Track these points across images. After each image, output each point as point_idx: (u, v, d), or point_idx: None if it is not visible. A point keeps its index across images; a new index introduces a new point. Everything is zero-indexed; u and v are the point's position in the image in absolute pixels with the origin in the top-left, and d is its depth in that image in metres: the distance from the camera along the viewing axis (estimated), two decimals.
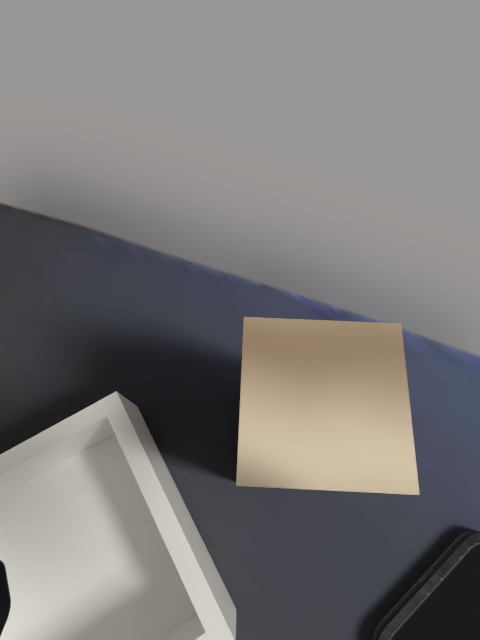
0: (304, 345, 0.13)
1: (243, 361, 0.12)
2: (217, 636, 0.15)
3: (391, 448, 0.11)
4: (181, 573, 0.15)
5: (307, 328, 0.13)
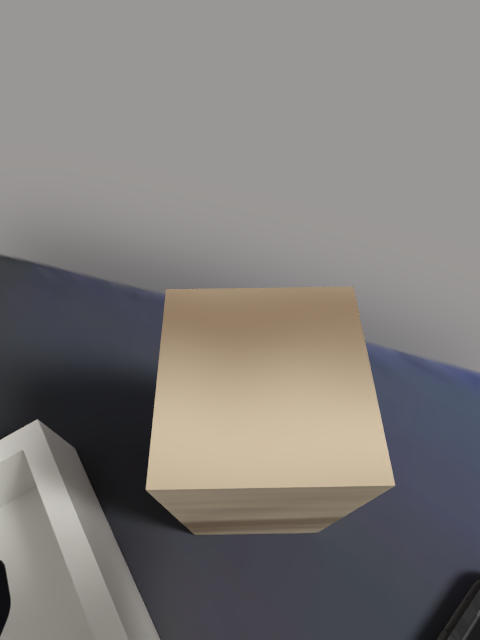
0: (239, 314, 0.10)
1: (163, 337, 0.10)
2: None
3: (352, 427, 0.09)
4: None
5: (242, 297, 0.11)
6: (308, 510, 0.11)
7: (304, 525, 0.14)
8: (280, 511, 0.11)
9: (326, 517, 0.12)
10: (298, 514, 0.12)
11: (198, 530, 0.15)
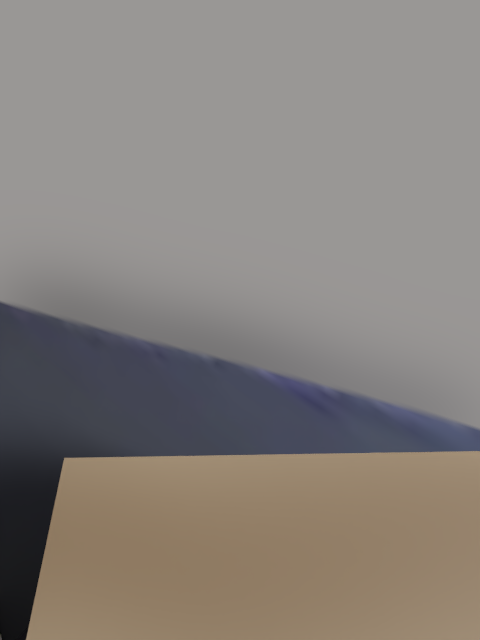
0: (247, 546, 0.04)
1: (35, 630, 0.04)
2: None
3: None
4: None
5: (255, 484, 0.04)
6: None
7: None
8: None
9: None
10: None
11: None
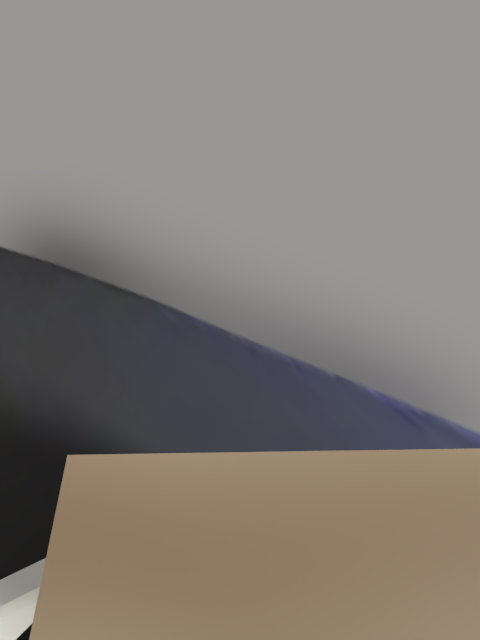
0: (250, 541, 0.04)
1: (38, 625, 0.04)
2: None
3: None
4: None
5: (257, 481, 0.04)
6: None
7: None
8: None
9: None
10: None
11: None
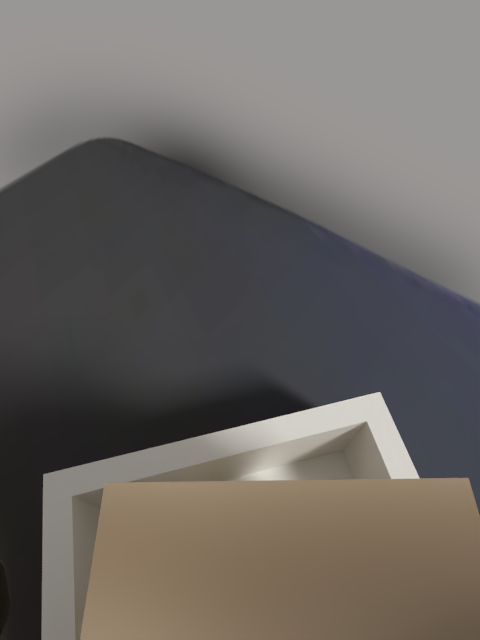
0: (247, 552, 0.05)
1: (88, 614, 0.05)
2: None
3: None
4: None
5: (252, 504, 0.05)
6: None
7: None
8: None
9: None
10: None
11: None
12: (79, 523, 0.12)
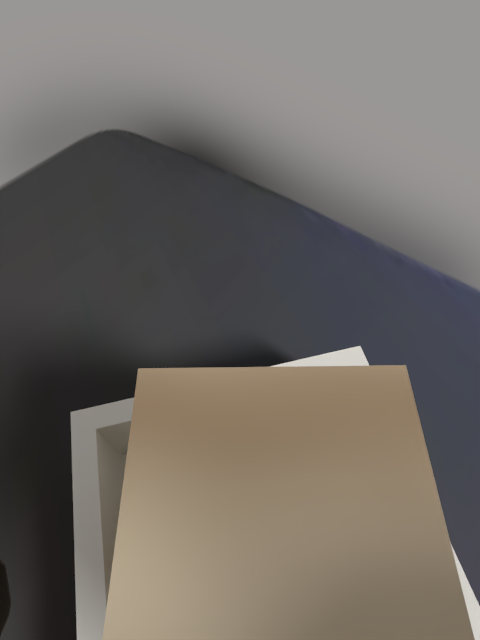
0: (242, 411, 0.07)
1: (130, 448, 0.07)
2: None
3: (421, 618, 0.06)
4: None
5: (247, 381, 0.07)
6: None
7: None
8: None
9: None
10: None
11: None
12: (101, 453, 0.14)
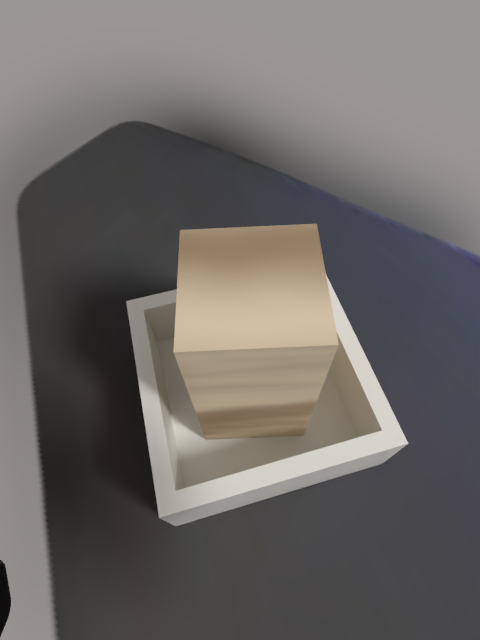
0: (233, 245, 0.14)
1: (179, 261, 0.14)
2: (392, 435, 0.17)
3: (312, 312, 0.13)
4: (363, 385, 0.18)
5: (235, 233, 0.15)
6: (288, 388, 0.15)
7: (290, 419, 0.18)
8: (268, 390, 0.15)
9: (304, 402, 0.16)
10: (282, 396, 0.16)
11: (209, 429, 0.19)
12: (147, 326, 0.21)
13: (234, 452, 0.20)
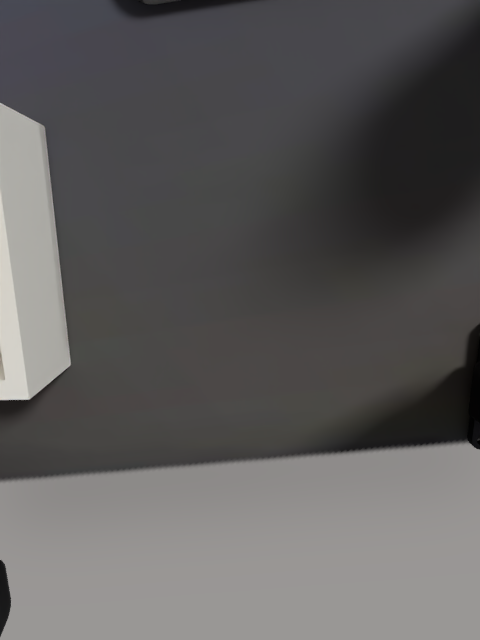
0: None
1: None
2: None
3: None
4: None
5: None
6: None
7: None
8: None
9: None
10: None
11: None
12: None
13: None
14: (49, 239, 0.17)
